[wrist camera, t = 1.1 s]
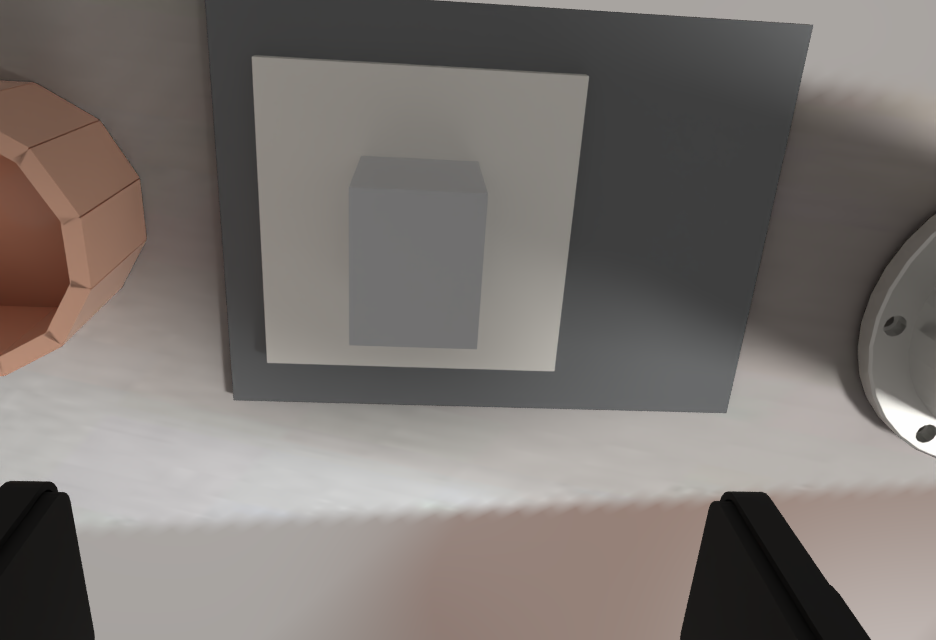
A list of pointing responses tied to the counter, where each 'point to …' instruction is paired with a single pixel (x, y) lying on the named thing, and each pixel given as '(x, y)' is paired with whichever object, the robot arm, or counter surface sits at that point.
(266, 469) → the counter surface
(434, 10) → the mat
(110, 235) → the bowl
